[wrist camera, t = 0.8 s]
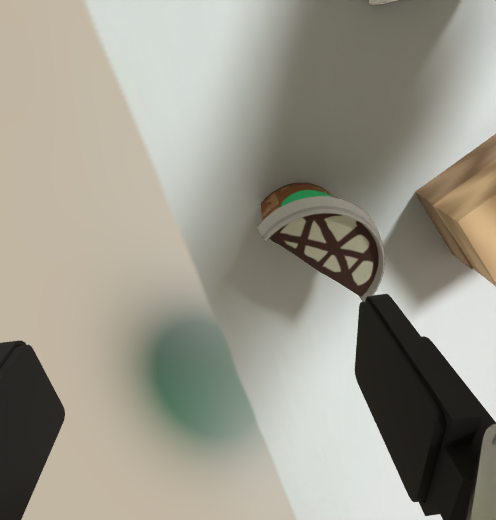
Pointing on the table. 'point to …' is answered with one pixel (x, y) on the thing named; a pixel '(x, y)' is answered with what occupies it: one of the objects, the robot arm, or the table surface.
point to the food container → (326, 235)
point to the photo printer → (380, 1)
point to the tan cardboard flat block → (450, 182)
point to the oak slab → (474, 219)
